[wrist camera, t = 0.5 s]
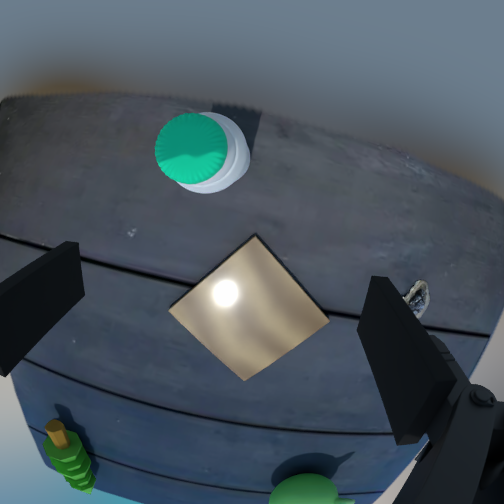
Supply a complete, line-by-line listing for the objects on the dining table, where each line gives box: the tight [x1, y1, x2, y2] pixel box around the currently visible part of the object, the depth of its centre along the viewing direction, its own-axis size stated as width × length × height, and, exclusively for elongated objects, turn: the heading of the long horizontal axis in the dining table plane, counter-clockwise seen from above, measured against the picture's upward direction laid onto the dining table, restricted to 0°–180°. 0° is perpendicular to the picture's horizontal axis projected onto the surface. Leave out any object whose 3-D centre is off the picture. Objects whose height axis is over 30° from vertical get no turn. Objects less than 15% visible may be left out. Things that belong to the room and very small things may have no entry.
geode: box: [403, 280, 430, 319], centre depth 47 cm, size 7×8×2 cm
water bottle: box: [155, 112, 250, 193], centre depth 30 cm, size 7×7×25 cm
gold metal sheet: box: [168, 235, 330, 381], centre depth 48 cm, size 18×18×1 cm
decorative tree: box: [43, 419, 96, 494], centre depth 56 cm, size 11×12×30 cm
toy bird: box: [269, 473, 355, 504], centre depth 54 cm, size 18×17×15 cm
